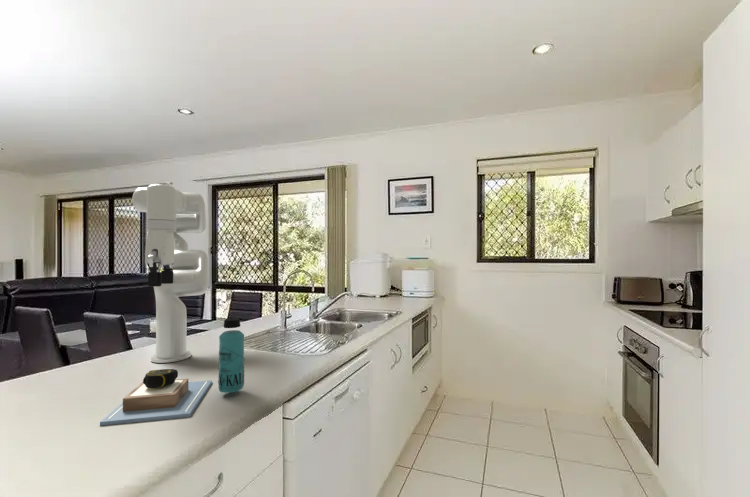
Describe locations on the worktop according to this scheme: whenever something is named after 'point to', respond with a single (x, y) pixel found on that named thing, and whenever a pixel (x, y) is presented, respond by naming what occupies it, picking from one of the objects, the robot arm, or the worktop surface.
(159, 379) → the tape measure
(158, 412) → the board
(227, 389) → the beverage bottle
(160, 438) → the worktop surface
